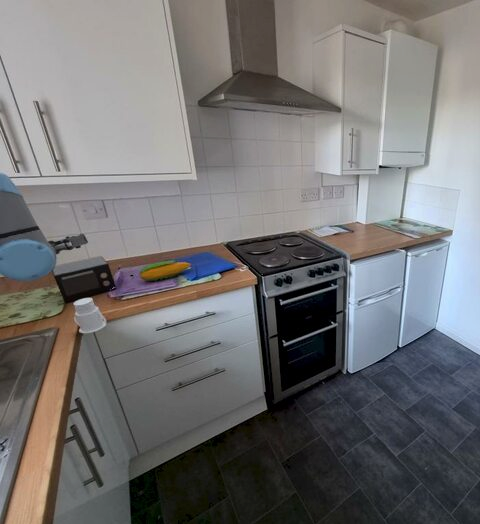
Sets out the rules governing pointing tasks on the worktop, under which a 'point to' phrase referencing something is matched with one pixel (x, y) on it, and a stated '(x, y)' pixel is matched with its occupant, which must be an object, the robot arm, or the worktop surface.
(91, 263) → the toaster oven
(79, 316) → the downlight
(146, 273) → the corn
